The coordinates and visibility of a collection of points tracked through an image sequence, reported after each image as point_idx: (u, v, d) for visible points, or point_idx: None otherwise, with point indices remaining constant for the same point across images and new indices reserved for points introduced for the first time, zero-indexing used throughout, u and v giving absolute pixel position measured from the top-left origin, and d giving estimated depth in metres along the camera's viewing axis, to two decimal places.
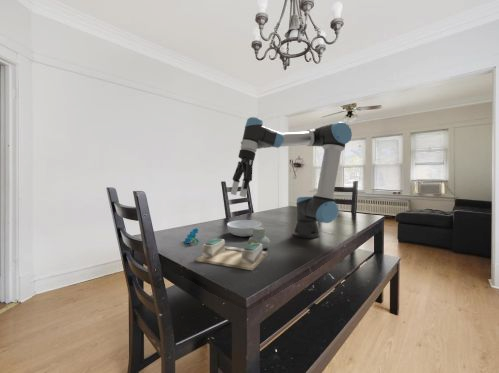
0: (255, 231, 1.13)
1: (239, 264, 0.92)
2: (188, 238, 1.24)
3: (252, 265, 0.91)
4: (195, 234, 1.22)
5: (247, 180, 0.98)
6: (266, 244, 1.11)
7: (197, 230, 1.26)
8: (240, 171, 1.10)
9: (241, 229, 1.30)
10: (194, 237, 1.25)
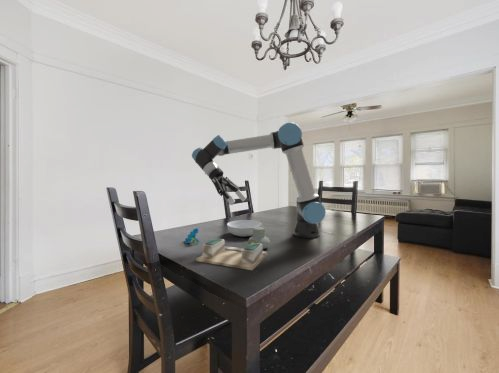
0: (255, 231, 1.13)
1: (239, 264, 0.92)
2: (188, 238, 1.25)
3: (252, 265, 0.91)
4: (195, 234, 1.22)
5: (221, 193, 1.11)
6: (266, 244, 1.11)
7: (197, 230, 1.26)
8: (228, 185, 1.24)
9: (241, 229, 1.30)
10: (194, 237, 1.25)
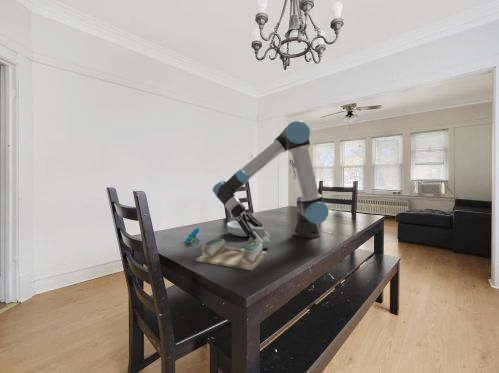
0: (255, 231, 1.13)
1: (239, 264, 0.92)
2: (189, 238, 1.25)
3: (252, 265, 0.91)
4: (196, 235, 1.22)
5: (248, 233, 1.09)
6: (266, 244, 1.12)
7: (198, 230, 1.25)
8: (250, 221, 1.20)
9: (241, 229, 1.30)
10: (195, 237, 1.25)
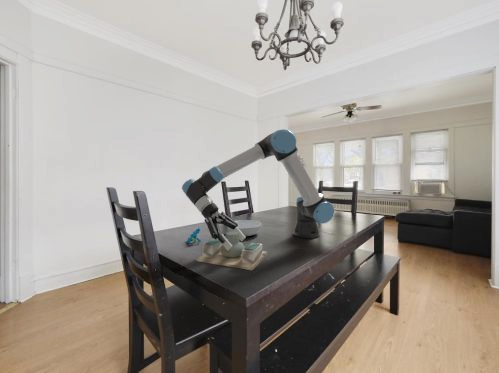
0: (228, 236, 1.00)
1: (239, 264, 0.92)
2: (190, 238, 1.25)
3: (252, 265, 0.91)
4: (196, 234, 1.22)
5: (215, 237, 0.94)
6: (240, 251, 0.98)
7: (199, 230, 1.25)
8: (224, 222, 1.07)
9: (241, 229, 1.30)
10: (196, 237, 1.24)
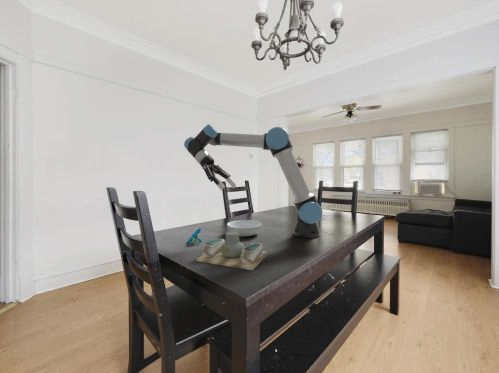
0: (228, 237, 1.00)
1: (239, 264, 0.92)
2: (191, 238, 1.25)
3: (252, 265, 0.91)
4: (196, 234, 1.22)
5: (211, 178, 1.17)
6: (240, 251, 0.98)
7: (200, 230, 1.25)
8: (218, 172, 1.29)
9: (241, 229, 1.30)
10: (196, 237, 1.24)
